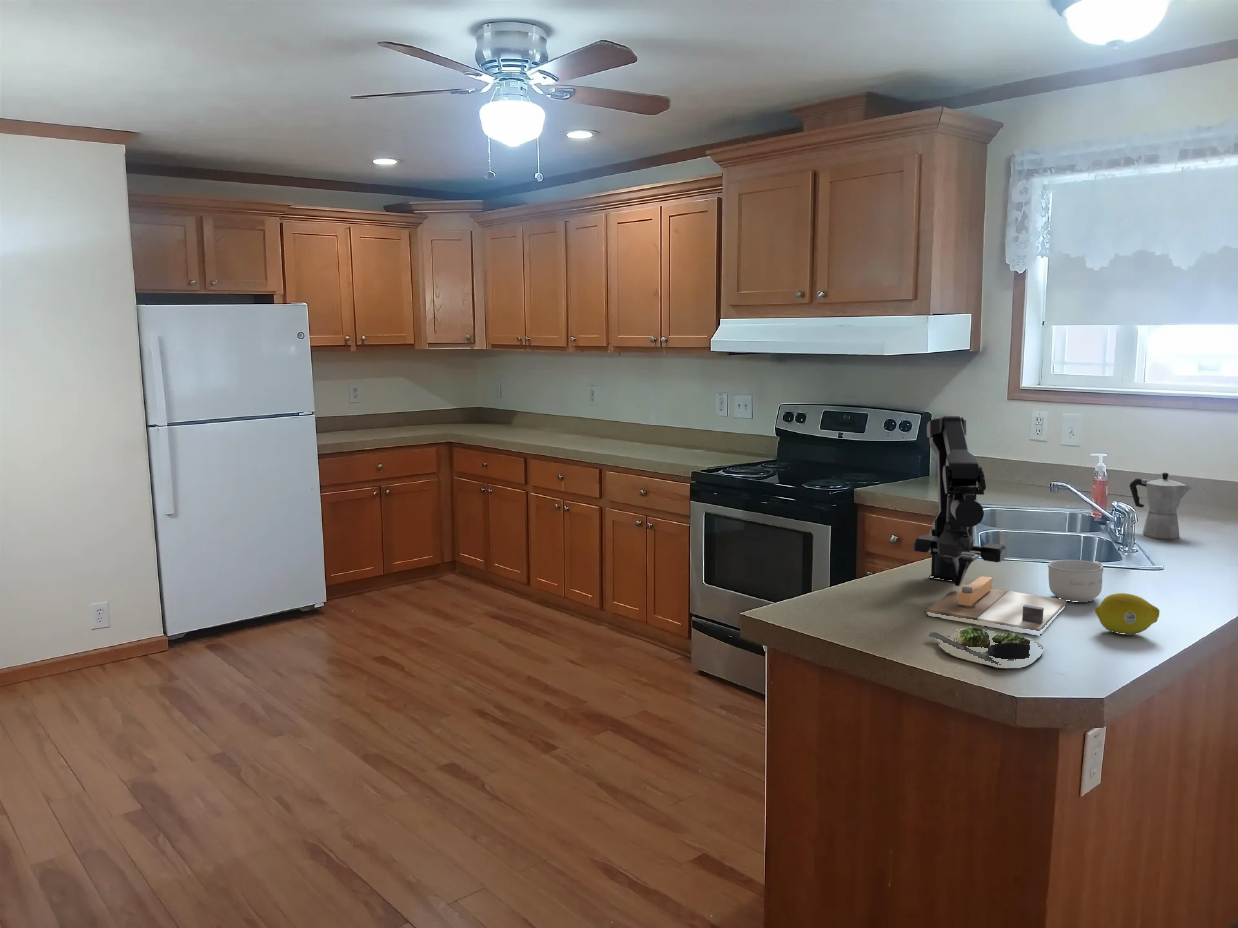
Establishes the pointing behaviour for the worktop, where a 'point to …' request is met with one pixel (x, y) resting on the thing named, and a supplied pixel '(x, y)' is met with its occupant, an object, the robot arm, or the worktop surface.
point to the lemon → (1126, 613)
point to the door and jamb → (1002, 608)
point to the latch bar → (975, 591)
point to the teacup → (1075, 579)
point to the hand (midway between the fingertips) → (957, 585)
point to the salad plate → (976, 637)
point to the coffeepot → (1161, 506)
